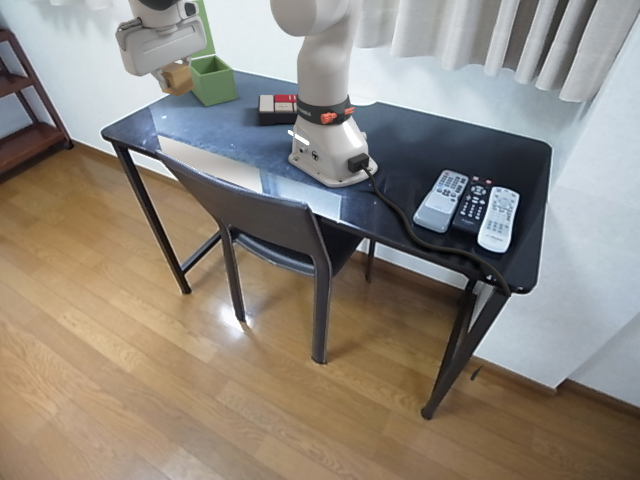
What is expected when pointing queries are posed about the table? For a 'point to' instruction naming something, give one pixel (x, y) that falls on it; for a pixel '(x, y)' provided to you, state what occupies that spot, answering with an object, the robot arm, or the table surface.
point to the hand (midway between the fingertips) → (176, 82)
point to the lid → (209, 45)
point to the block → (177, 79)
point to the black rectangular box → (277, 109)
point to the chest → (212, 80)
